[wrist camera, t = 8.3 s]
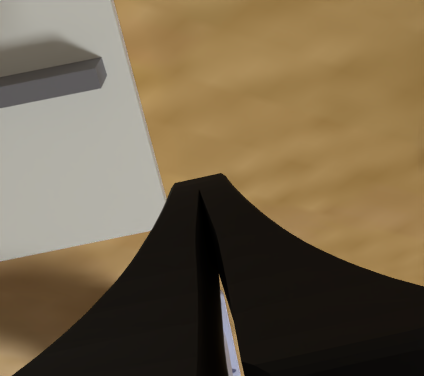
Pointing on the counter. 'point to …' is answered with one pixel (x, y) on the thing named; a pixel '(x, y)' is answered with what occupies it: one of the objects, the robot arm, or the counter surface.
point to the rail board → (70, 130)
